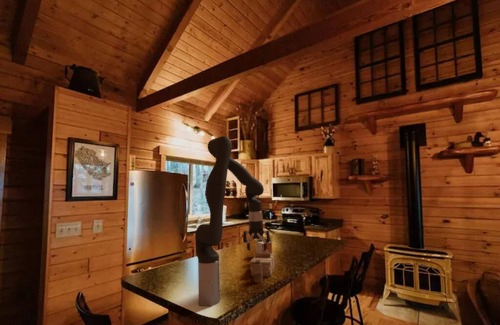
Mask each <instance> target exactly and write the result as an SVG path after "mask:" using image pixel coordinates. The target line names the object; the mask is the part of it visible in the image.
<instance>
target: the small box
mask: <svg viewBox="0 0 500 325" xmlns="http://www.w3.org/2000/svg"><path fill="white" fill-rule="evenodd" d="M272 244H273V243H272V241H271V242H269V243H267V250H266V251H264V242H263V241H262V242H257V243H256V252H262V253H271V254H273V246H272Z"/></svg>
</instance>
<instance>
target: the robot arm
mask: <svg viewBox="0 0 500 325" xmlns="http://www.w3.org/2000/svg"><path fill="white" fill-rule="evenodd" d="M232 144H233V143H232V141H231V139H230V138H229V136H227V135H222V136H218V137H215V138H212V139H210V140H209V141H208V143H207V151H208V152H209V154H210V155H211V156H212V157H213V158H214V159H215V162H214V165H213V168H212V169H211V171H210V173H209V174H208V177H207V179H206V183H205V191H204V192H205V193H204V195H205V196H204V197H205V200H206V204H207V206H208V209H209V223H201V224H199V225H198V227H197V228H196V231H195V234H194V235H195V237H194V241H195V254H196V257H197V267H198V268H197V271H198V272H197V274H198V277H197V278H198V282H197V283H198V286H197V287H198V305H199V306H205V307H206V306H207V307H208V306H209V307H213V306H214V305H217V304H219V302H220V301H221V292H220V291H221V290H220V289H221V288H220V284H221V283H220V254H219V253H218V252H217V251H216V250H214V248H213V247H216V246H218V245H219V244H220V243H221V241H222V238H223V225H224V222H223V221H224V220H223V218H224V217H223V216H224V204H225V196H226V195H225V194H226V186H227V177H228V172H229V171H230V173H231V174H232V175H233V176H234V177H235V178H236V179H237V181H238V182H239V183H240V185H243V186H245V188H244V189H245V190H244V194H245V196H246V199H247V200H246V201H247V203H248V229H249V230H244V231H243V233H242V234H243V239H242V240H243V243H246V249H247V250H248V251H249V252H250V251H251V241H252V239H253V240H258V239H261V240H262V241H263V242H264V251H266V250H267V243H269V242H270V239H271V236H270V230H267V229H266V230H264V217H263V216H264V215H263V209H262V201H261V200H259V199H258V198H257V197H258V196H262V195H263V193H264V191H265V190H264V185H263V184H262V183H261V182H260V181H259V180H258V179H257V178H256V177H254V176H253V175H252V174H251V173H250V172H249V170H248V169H247V168H246V167H245V166H244V165H243V164H241V163H239V162H238V161H237V160H235V159H234V158H232V157H231V154H232V149H233V145H232ZM248 235H249V238H248ZM264 235H265V236H266V238H265V236H264ZM247 238H248V239H247ZM266 239H267V240H266Z"/></svg>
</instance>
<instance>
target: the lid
mask: <svg viewBox="0 0 500 325" xmlns="http://www.w3.org/2000/svg"><path fill="white" fill-rule="evenodd" d="M273 257H274V258H275V253H272V254H271V253H262V252H257V251H256V252H255V253H254V256H253V258H252V259H251V260H250V264H251V263H255V261H256V260H260V262H262V263H263V264H270V263H271V261H272V259H273Z"/></svg>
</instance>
